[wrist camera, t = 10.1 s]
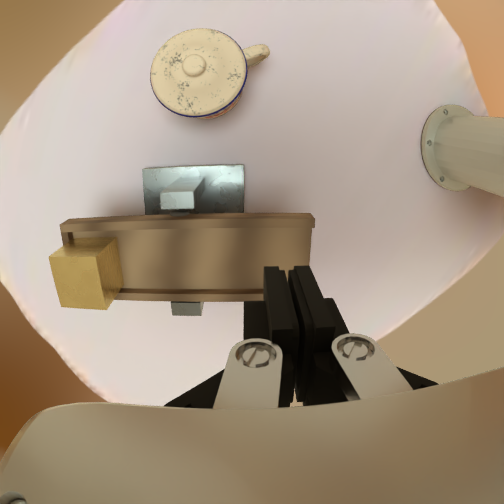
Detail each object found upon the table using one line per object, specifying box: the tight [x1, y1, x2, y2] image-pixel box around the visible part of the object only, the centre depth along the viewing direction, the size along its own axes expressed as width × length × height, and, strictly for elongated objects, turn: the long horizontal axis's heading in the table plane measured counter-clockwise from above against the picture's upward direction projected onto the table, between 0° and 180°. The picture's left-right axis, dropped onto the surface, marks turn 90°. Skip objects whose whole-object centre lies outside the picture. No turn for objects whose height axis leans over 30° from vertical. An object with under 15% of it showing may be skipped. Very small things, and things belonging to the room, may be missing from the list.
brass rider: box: [49, 237, 124, 310], centre depth 26 cm, size 5×5×5 cm
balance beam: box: [60, 210, 315, 302], centre depth 30 cm, size 24×8×4 cm, turn 90°
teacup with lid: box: [150, 28, 270, 119], centre depth 27 cm, size 12×9×12 cm
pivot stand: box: [142, 164, 244, 316], centre depth 34 cm, size 12×15×11 cm
